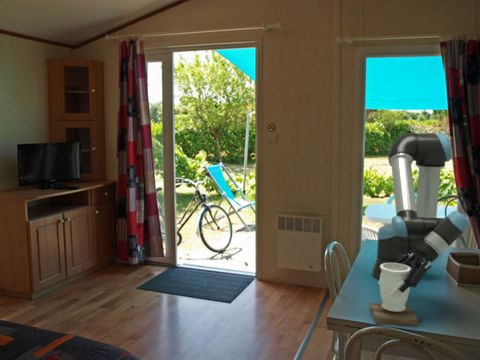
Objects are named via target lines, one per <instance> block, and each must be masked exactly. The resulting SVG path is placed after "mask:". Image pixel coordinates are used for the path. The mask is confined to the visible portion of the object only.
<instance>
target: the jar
mask: <svg viewBox="0 0 480 360" xmlns="http://www.w3.org/2000/svg"><path fill="white" fill-rule="evenodd" d="M380 269H381V270H382V271H381V274H380V280H379V279H378V280H379V281H378V282H379V284H378V285H379V291H380V298H381V300H382V301H381V303H382V304H381V306H382V307H383V308H384V309H386V310H389V311H394V312H400V311H404V310H405V309H406V306H405V305H406V303H407V302H408V298H409V293H410V290H411V287H409V288H408V289H407V290H405V291H404V292H403V293H402V294H401V295H400V296H399V297H398V298H397V299H396V300H395V299H394V298H393V297H392V296H391V295H390V293H391V292H392V291H393V290H394V289H395V288H396V287H397V286H398V285H399V284H400V283H401V282H402V281H404V280H405V279H406V278H407V276H408V274H409V273H410V271H411V269H412V268H411V267H409V266H407V265H404V264H399V263H384V264H381V265H380Z"/></svg>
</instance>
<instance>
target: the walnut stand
mask: <svg viewBox="0 0 480 360" xmlns="http://www.w3.org/2000/svg"><path fill="white" fill-rule="evenodd" d="M381 304H382V302H381V303H378V302H377V303H376V302H369V310H370V312H371V315H372V317H373V319H374V322H375V324H376V325H387V326H388V325H389V326H390V325H392V326H408V327H410V326H411V327H419V326H420V325H419V324H420V321H419V319H418V317H417V315H416V314H415V313H414V310H412V308H411V306H410V305H409V304H405V306H406V309H405V310H404V311H400V312H394V311H389V310H386V309H384V308H383V307H382V306H381Z"/></svg>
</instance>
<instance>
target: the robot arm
mask: <svg viewBox="0 0 480 360" xmlns="http://www.w3.org/2000/svg"><path fill="white" fill-rule="evenodd" d="M451 147H452V146H451V142H450V139H449V137H448V136H447V134H446V133H438V132H434V133H433V132H432V133H431V132H430V133H429V132H428V133H427V132H426V133H425V132H421V133H420V132H419V133H417V132H416V133H414V132H411V133H410V132H409V133H406V134H403V135H400V136H399V137H397V139H395V141H394V142H393V143H392V144H391V147H390V149H389V152H388V164H389V166H390V167H391V173H392V174H391V175H392V182H393V192H394V193H393V194H394V203H395V204H394V205H395V213H396V216H393V217H392V219H391V223H390V224H385V225H383V226H380V227H379V228H378V231H377V247H376V260H375V262H374V265H373V267H372V270H371V274H372V275H371V276H372V277H373V278H375V279H377V280H380V274H381V271H382V270H381V269H380V265H381V264H384V263H399V264H404V265H407V266H409V267H410V268H411V271H410V273H409V274H408V276H407V278H406V279H405V280H404V281H402V282H401V283H400V284H399V285H398V286H397V287H396V288H395V289H394V290H393V291H392V292H391V293H390V295H391V296H392V297H393V298H394V299H395V300H396V299H397V298H398V297H399V296H400V295H401V294H402V293H403V292H404V291H405V290H407V289H408V288H409V287H410V288H411V287H412V288H416V287H417V286H418V284H419V283H420V281H422V279H423V277H424V276H425V274H426V273H427V271H429V270H430V269H431V268H432V265H431V264H430V263H434V262H435V261H436V260H437V259H438V258H439V257H440V255H442V254H443V253H444V252H446V250H447V249H448V248H449V247H450V246H451V245H452V244H453V243H454V242H455V241H457V239H458V238H460V236H461V235H462V234H464V233H466V231H467V230H468V229H469V228H470V226H471V222H470V220H469V219H468V218H467V217H466V216H465V215H463V214H462V213H461V212H459V211H458V210H453V211H452V212H450V213H449V214H448V215H447V216H446V217H437V212H438V203H439V202H438V201H439V191H440V181H441V170H442V169H444V168H445V167H446V166H445V165H446V163H448V162H450V160H451V157H452V148H451ZM413 162H415V166H416V167H417V168H418V174H417V175H418V176H417V177H418V178H417V190H416V194H415V185H414V178H413V171H412V164H413ZM377 284H378V285H379V281H378V282H377Z"/></svg>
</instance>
